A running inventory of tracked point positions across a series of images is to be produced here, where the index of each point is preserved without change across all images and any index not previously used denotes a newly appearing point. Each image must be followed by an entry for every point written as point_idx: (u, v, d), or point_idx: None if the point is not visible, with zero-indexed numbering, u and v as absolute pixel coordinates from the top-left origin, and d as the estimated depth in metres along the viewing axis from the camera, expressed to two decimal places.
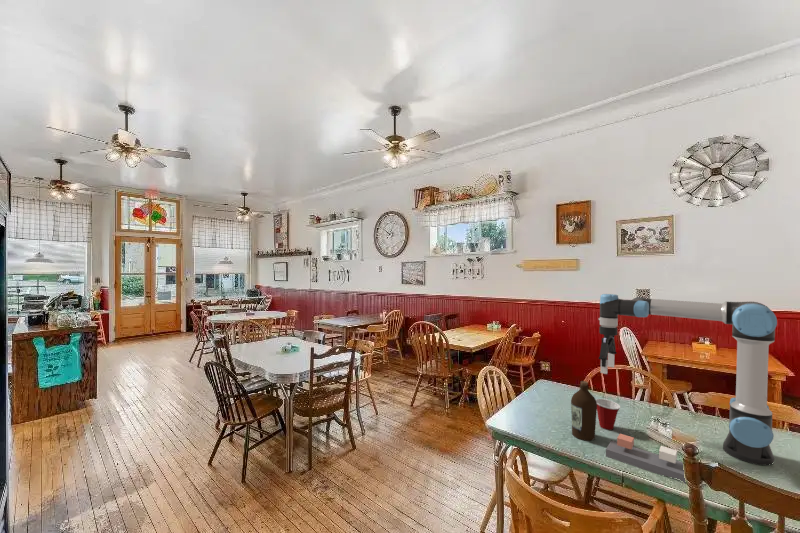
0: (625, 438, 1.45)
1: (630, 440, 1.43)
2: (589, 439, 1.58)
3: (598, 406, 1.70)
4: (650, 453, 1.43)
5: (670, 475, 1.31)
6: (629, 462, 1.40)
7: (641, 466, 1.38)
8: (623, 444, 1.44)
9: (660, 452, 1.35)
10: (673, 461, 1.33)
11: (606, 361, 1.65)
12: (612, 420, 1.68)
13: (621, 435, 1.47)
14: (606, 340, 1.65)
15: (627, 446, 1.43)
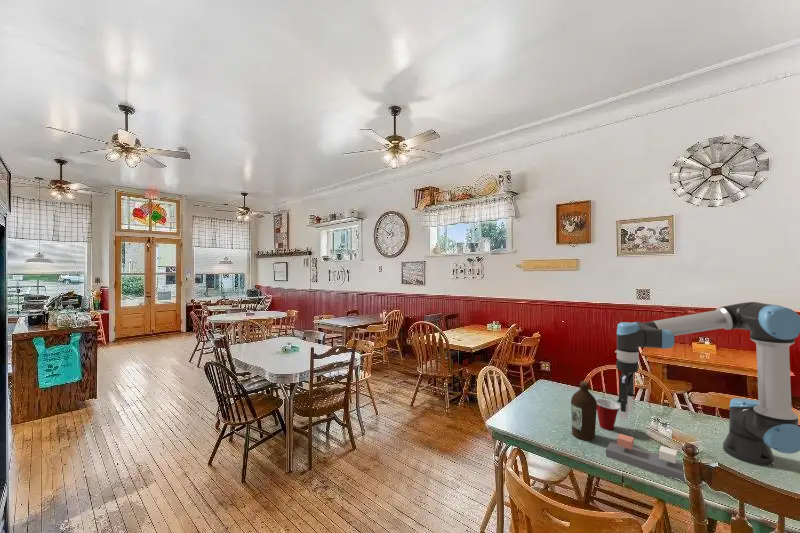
0: (625, 438, 1.45)
1: (630, 440, 1.43)
2: (589, 439, 1.58)
3: (598, 406, 1.70)
4: (650, 453, 1.43)
5: (670, 475, 1.31)
6: (629, 462, 1.40)
7: (641, 466, 1.38)
8: (623, 444, 1.44)
9: (660, 452, 1.35)
10: (673, 461, 1.33)
11: (626, 405, 1.41)
12: (612, 420, 1.68)
13: (621, 435, 1.47)
14: (625, 381, 1.39)
15: (627, 446, 1.43)
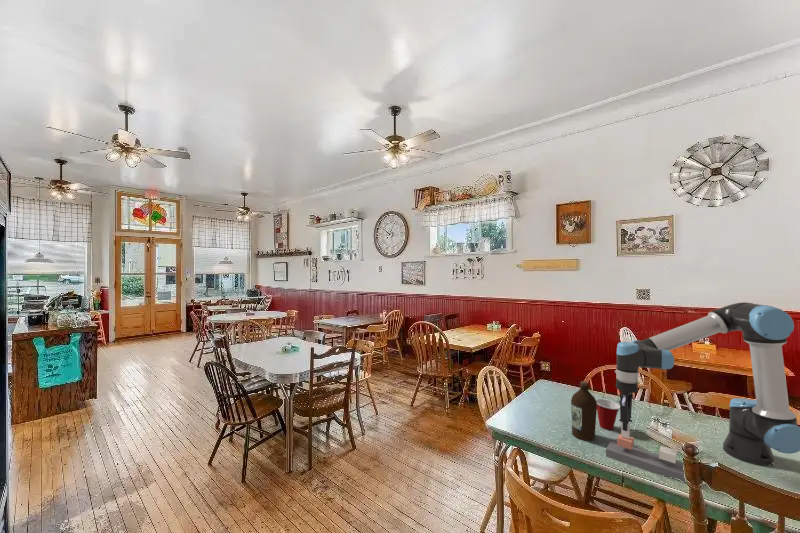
0: (625, 438, 1.45)
1: (630, 440, 1.43)
2: (589, 439, 1.58)
3: (598, 406, 1.70)
4: (650, 453, 1.43)
5: (670, 475, 1.31)
6: (629, 462, 1.40)
7: (641, 466, 1.38)
8: (623, 445, 1.44)
9: (660, 452, 1.35)
10: (673, 461, 1.33)
11: (628, 424, 1.44)
12: (612, 420, 1.68)
13: None
14: (625, 404, 1.40)
15: (627, 446, 1.43)
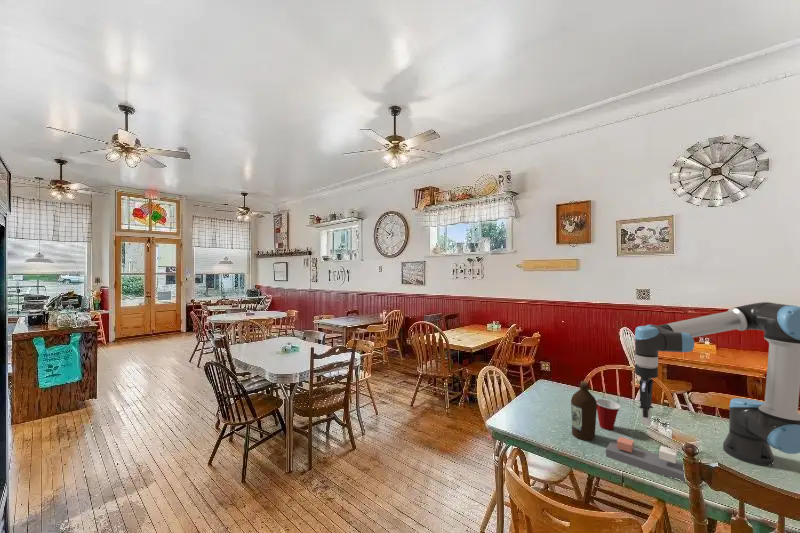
0: (625, 441, 1.45)
1: (630, 443, 1.43)
2: (589, 439, 1.58)
3: (598, 406, 1.70)
4: (650, 453, 1.43)
5: (670, 475, 1.31)
6: (629, 462, 1.40)
7: (641, 466, 1.38)
8: (623, 448, 1.44)
9: (660, 452, 1.35)
10: (673, 461, 1.33)
11: (648, 411, 1.40)
12: (612, 420, 1.68)
13: (621, 438, 1.47)
14: (645, 390, 1.36)
15: (627, 449, 1.43)
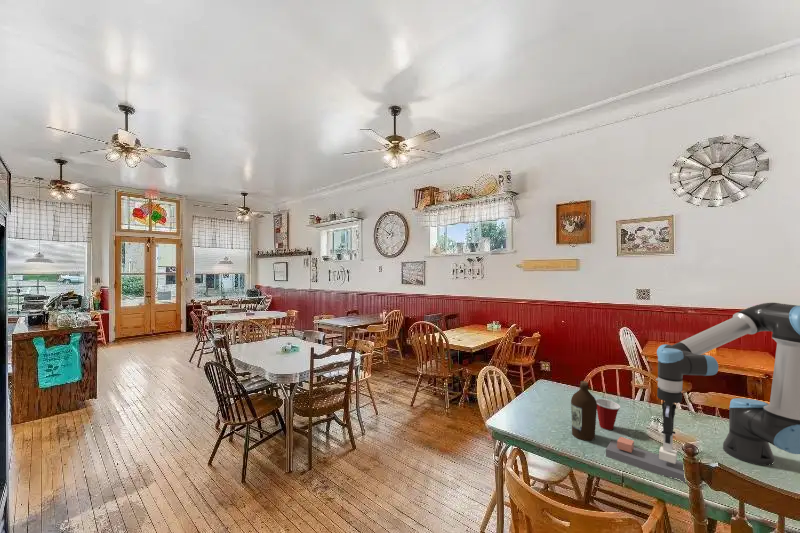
0: (625, 441, 1.45)
1: (630, 443, 1.43)
2: (589, 439, 1.58)
3: (598, 406, 1.70)
4: (650, 453, 1.43)
5: (670, 475, 1.31)
6: (629, 462, 1.40)
7: (641, 466, 1.38)
8: (623, 448, 1.44)
9: (660, 452, 1.35)
10: (673, 461, 1.33)
11: (671, 436, 1.35)
12: (612, 420, 1.68)
13: (621, 438, 1.47)
14: (669, 416, 1.31)
15: (627, 449, 1.43)
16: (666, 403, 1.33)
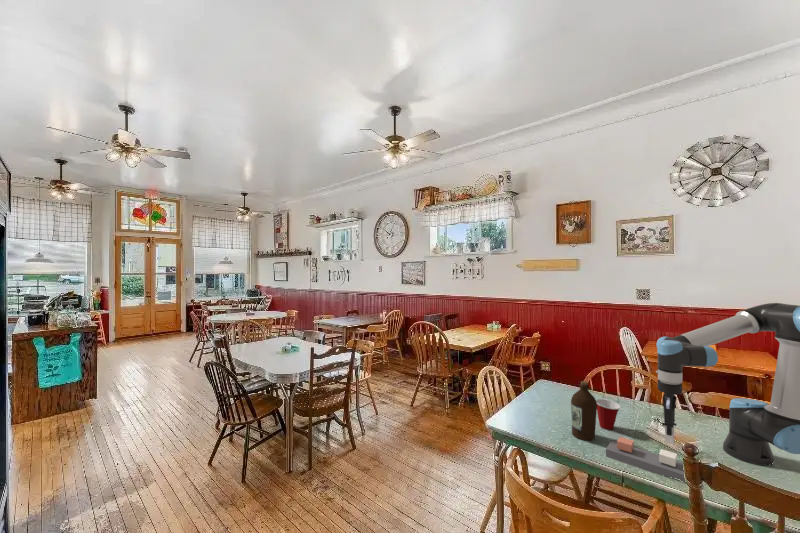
0: (625, 441, 1.45)
1: (630, 443, 1.43)
2: (589, 439, 1.58)
3: (598, 406, 1.70)
4: (650, 453, 1.43)
5: (670, 475, 1.31)
6: (629, 462, 1.40)
7: (641, 466, 1.38)
8: (623, 448, 1.44)
9: (660, 455, 1.36)
10: (673, 464, 1.33)
11: (672, 428, 1.34)
12: (612, 420, 1.68)
13: (621, 438, 1.47)
14: (670, 407, 1.31)
15: (627, 449, 1.43)
16: (666, 395, 1.33)
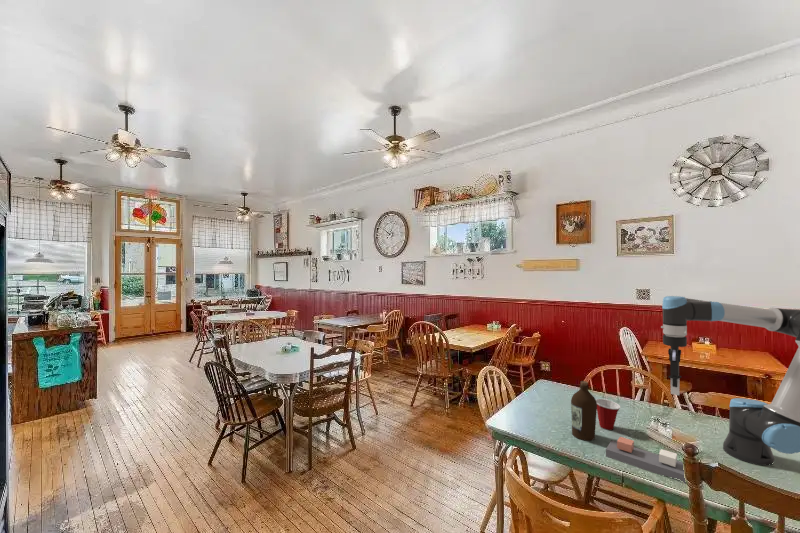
0: (625, 441, 1.45)
1: (630, 443, 1.43)
2: (589, 439, 1.58)
3: (598, 406, 1.70)
4: (650, 453, 1.43)
5: (670, 475, 1.31)
6: (629, 462, 1.40)
7: (641, 466, 1.38)
8: (623, 448, 1.44)
9: (660, 455, 1.36)
10: (673, 464, 1.33)
11: (678, 380, 1.40)
12: (612, 420, 1.68)
13: (621, 438, 1.47)
14: (676, 359, 1.36)
15: (627, 449, 1.43)
16: (672, 348, 1.38)
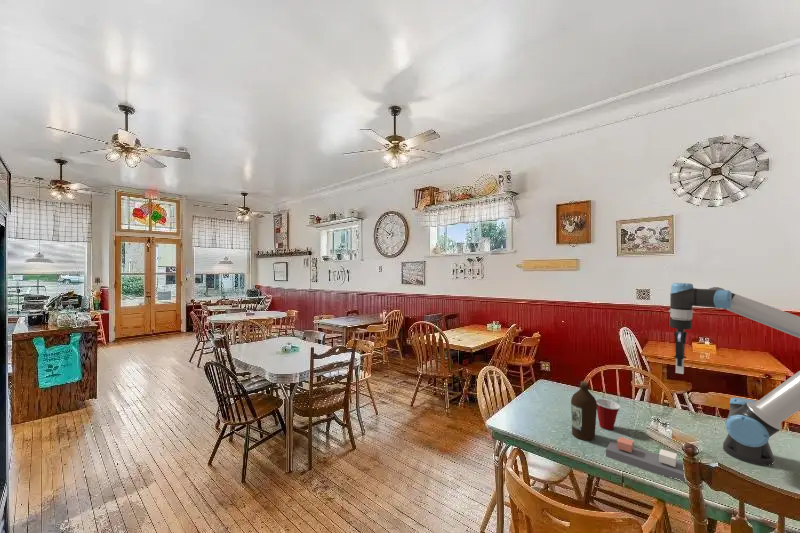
0: (625, 441, 1.45)
1: (630, 443, 1.43)
2: (589, 439, 1.58)
3: (598, 406, 1.70)
4: (650, 453, 1.43)
5: (670, 475, 1.31)
6: (629, 462, 1.40)
7: (641, 466, 1.38)
8: (623, 448, 1.44)
9: (660, 455, 1.36)
10: (673, 464, 1.33)
11: (682, 360, 1.52)
12: (612, 420, 1.68)
13: (621, 438, 1.47)
14: (681, 340, 1.48)
15: (627, 449, 1.43)
16: (678, 330, 1.50)
